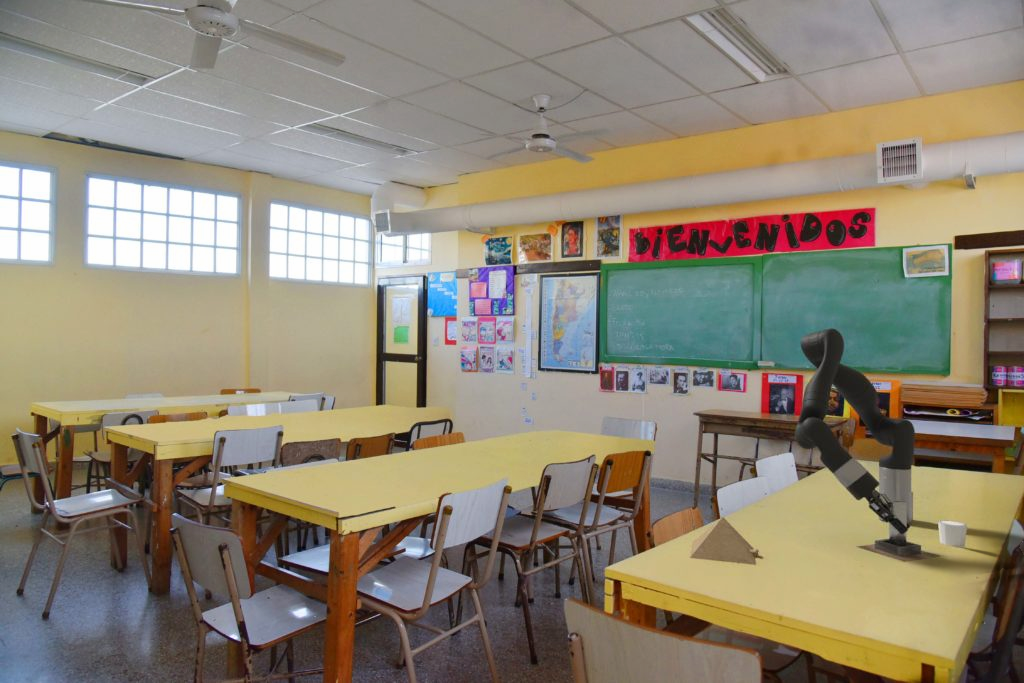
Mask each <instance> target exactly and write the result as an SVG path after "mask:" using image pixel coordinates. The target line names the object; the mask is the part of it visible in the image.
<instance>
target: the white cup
mask: <svg viewBox="0 0 1024 683" xmlns="http://www.w3.org/2000/svg"><path fill="white" fill-rule="evenodd" d="M937 523H938V525H937V526H938V534H939V543H940V544H942V545H945V546H950V547H955V548H960V549H964V550H965V549H966V538H967V532H968V531H967V530H968V524H966V523H964V522H961V521H955V520H947V519H946V520H945V519H942V520H938V522H937Z"/></svg>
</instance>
